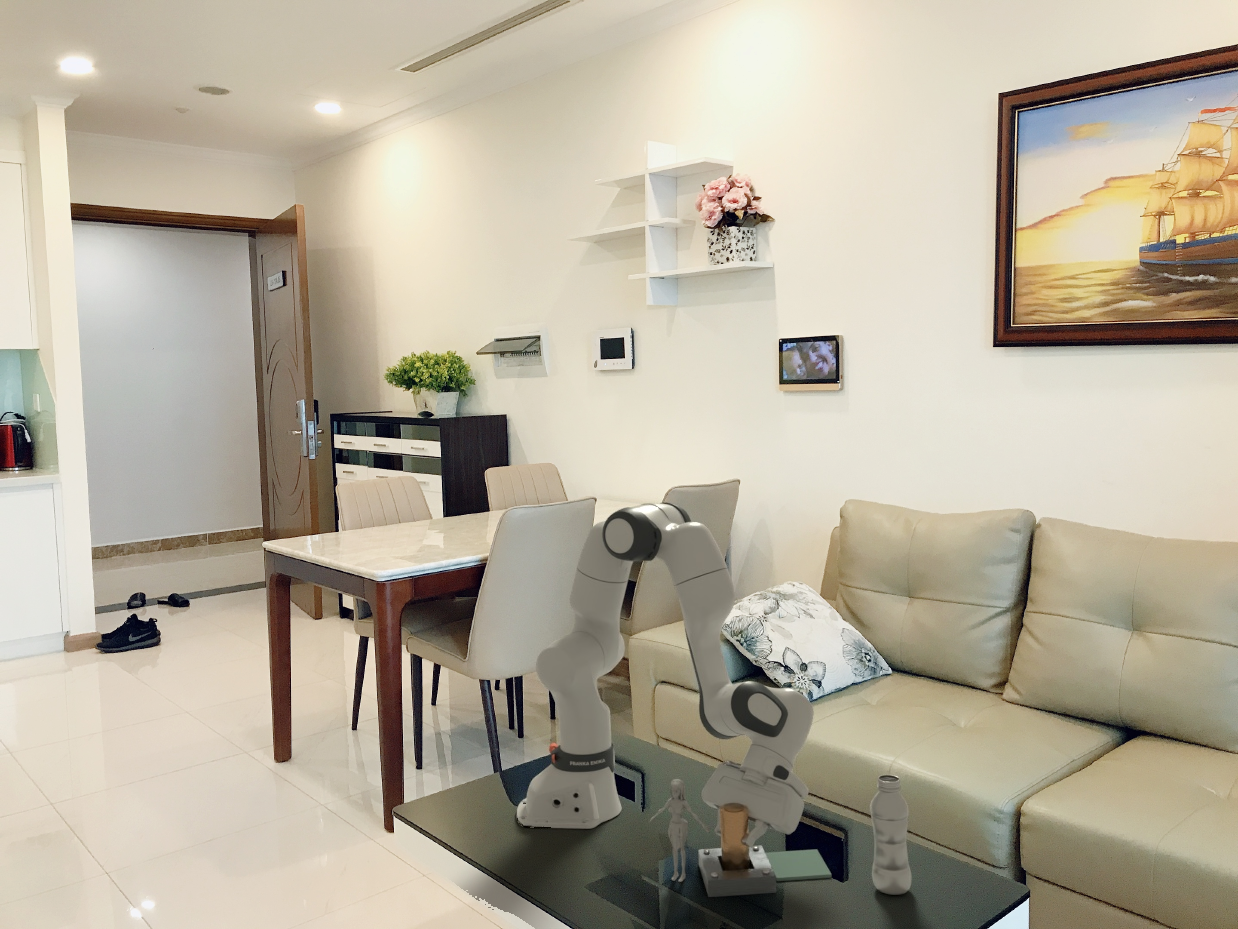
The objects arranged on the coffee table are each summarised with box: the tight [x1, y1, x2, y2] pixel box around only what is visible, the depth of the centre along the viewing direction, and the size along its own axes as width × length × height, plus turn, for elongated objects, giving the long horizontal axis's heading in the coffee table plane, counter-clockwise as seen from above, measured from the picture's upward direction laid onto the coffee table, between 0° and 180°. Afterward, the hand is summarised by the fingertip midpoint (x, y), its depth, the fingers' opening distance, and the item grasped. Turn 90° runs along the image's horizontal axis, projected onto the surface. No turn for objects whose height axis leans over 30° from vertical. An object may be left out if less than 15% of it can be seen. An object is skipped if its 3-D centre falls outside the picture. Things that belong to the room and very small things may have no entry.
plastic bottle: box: [869, 774, 913, 896], centre depth 168 cm, size 6×7×20 cm
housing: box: [697, 845, 777, 898], centre depth 175 cm, size 12×12×3 cm
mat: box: [765, 848, 832, 882], centre depth 179 cm, size 10×10×1 cm
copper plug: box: [720, 803, 750, 871], centre depth 175 cm, size 5×5×13 cm
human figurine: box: [647, 778, 710, 883], centre depth 176 cm, size 12×4×18 cm, turn 63°
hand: (732, 840), depth 174 cm, fingers closed on copper plug, 5 cm apart
